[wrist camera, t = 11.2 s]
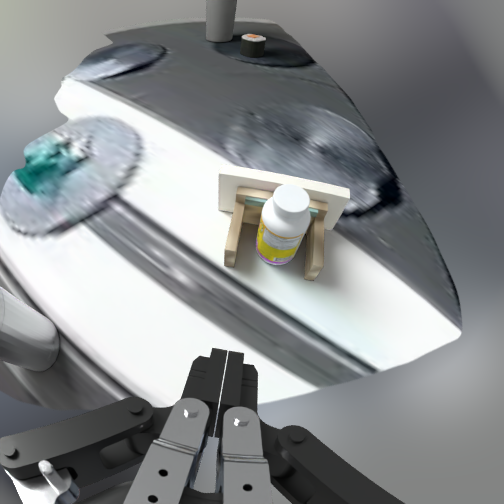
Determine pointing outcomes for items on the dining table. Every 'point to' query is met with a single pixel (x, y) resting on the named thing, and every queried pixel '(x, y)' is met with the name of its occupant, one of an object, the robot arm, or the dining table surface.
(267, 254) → the supplement bottle
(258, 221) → the cradle
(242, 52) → the sushi
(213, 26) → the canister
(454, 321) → the dining table surface
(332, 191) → the backstop board
